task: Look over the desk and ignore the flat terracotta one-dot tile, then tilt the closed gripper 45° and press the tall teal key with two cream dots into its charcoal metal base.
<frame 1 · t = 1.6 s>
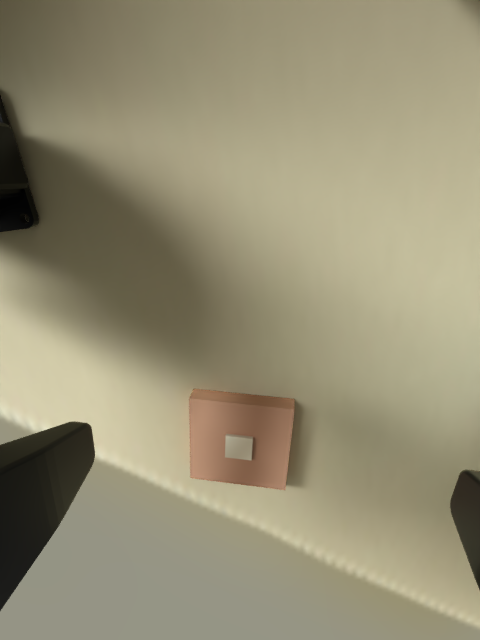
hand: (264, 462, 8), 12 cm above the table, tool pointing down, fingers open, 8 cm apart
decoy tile: (242, 429, 23), on the table
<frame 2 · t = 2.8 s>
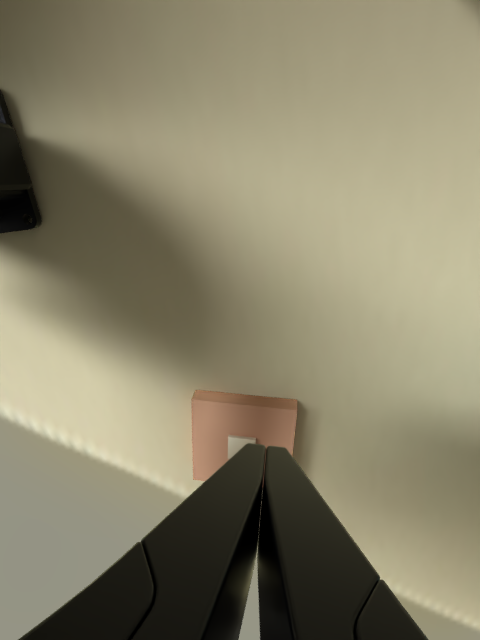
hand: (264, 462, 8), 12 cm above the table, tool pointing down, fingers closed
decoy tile: (244, 430, 23), on the table
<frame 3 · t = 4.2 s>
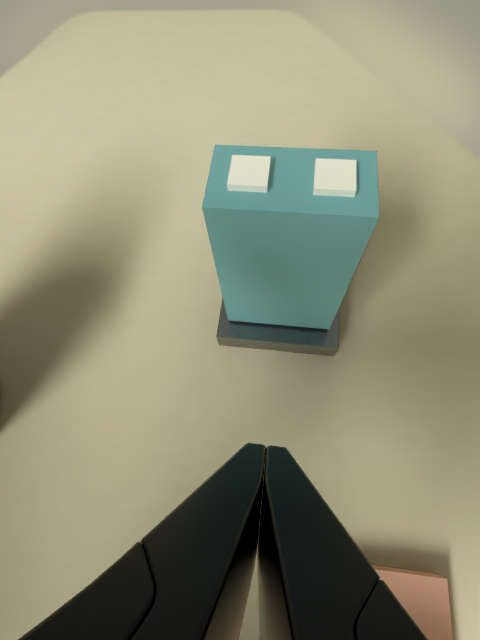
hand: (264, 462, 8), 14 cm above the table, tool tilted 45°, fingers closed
key two: (287, 255, 17), point 7 cm above the table, slide at 0.0 cm
key two base: (278, 314, 24), on the table
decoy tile: (374, 636, 17), on the table
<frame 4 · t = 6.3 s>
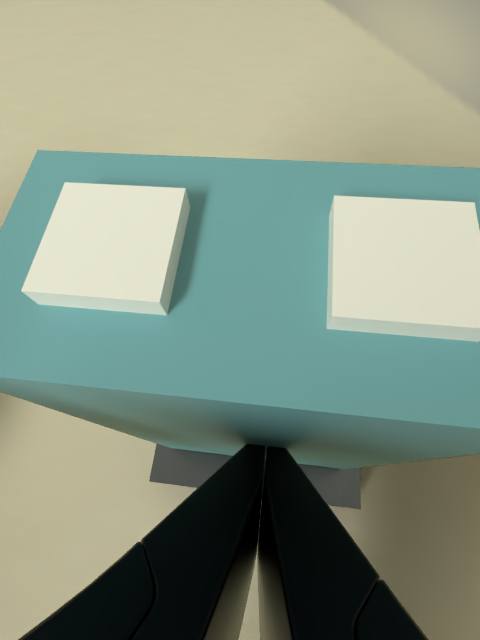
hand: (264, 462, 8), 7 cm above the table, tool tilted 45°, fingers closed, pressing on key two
key two: (264, 378, 8), point 7 cm above the table, slide at 0.2 cm, touching gripper
key two base: (259, 425, 15), on the table
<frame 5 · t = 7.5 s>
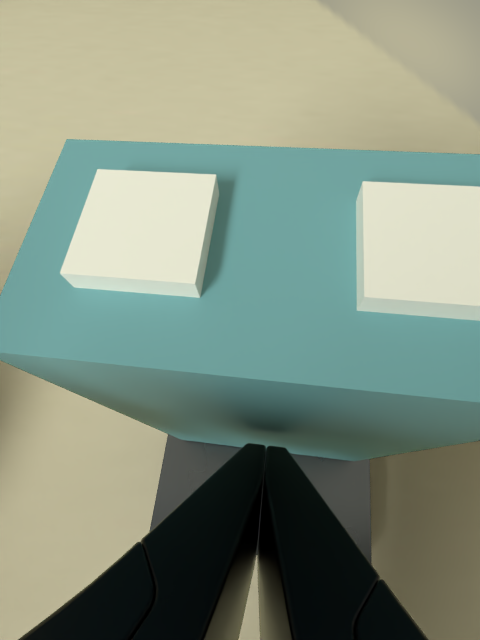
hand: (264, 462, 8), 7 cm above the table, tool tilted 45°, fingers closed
key two: (278, 368, 8), point 7 cm above the table, slide at 2.2 cm
key two base: (263, 471, 14), on the table
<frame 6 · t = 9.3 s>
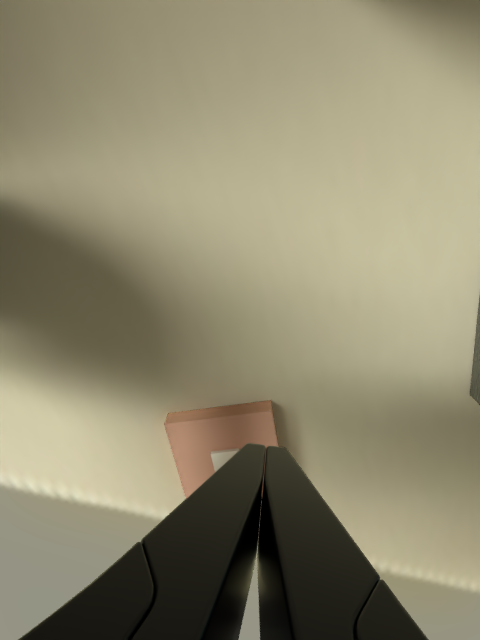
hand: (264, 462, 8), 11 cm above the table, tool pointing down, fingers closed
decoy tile: (228, 443, 22), on the table
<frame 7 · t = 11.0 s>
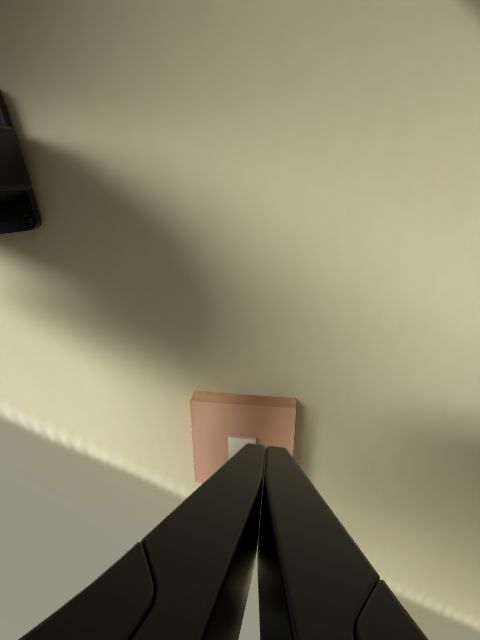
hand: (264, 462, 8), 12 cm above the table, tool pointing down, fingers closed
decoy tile: (245, 431, 23), on the table
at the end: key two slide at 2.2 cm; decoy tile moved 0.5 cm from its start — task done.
